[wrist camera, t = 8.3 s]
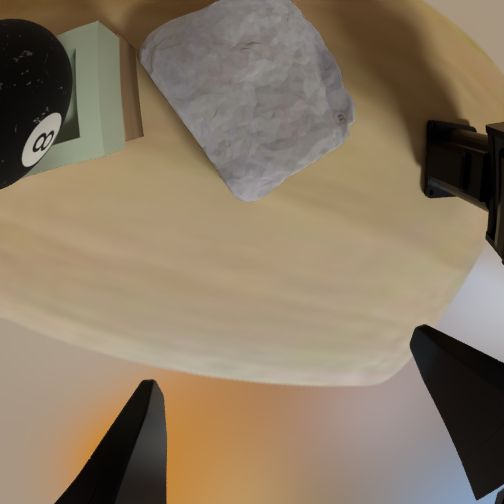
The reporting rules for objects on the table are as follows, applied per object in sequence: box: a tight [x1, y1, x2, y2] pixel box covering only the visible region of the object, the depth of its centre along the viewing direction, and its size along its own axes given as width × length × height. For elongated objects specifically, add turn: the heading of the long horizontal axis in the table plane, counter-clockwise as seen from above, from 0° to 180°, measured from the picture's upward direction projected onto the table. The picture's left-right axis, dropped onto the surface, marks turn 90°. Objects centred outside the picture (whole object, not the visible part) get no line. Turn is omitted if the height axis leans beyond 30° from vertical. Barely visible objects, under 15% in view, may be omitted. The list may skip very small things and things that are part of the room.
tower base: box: [115, 33, 144, 141], centre depth 13 cm, size 6×6×4 cm
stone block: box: [138, 0, 355, 202], centre depth 15 cm, size 12×5×10 cm
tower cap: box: [22, 21, 126, 178], centre depth 10 cm, size 6×6×3 cm
